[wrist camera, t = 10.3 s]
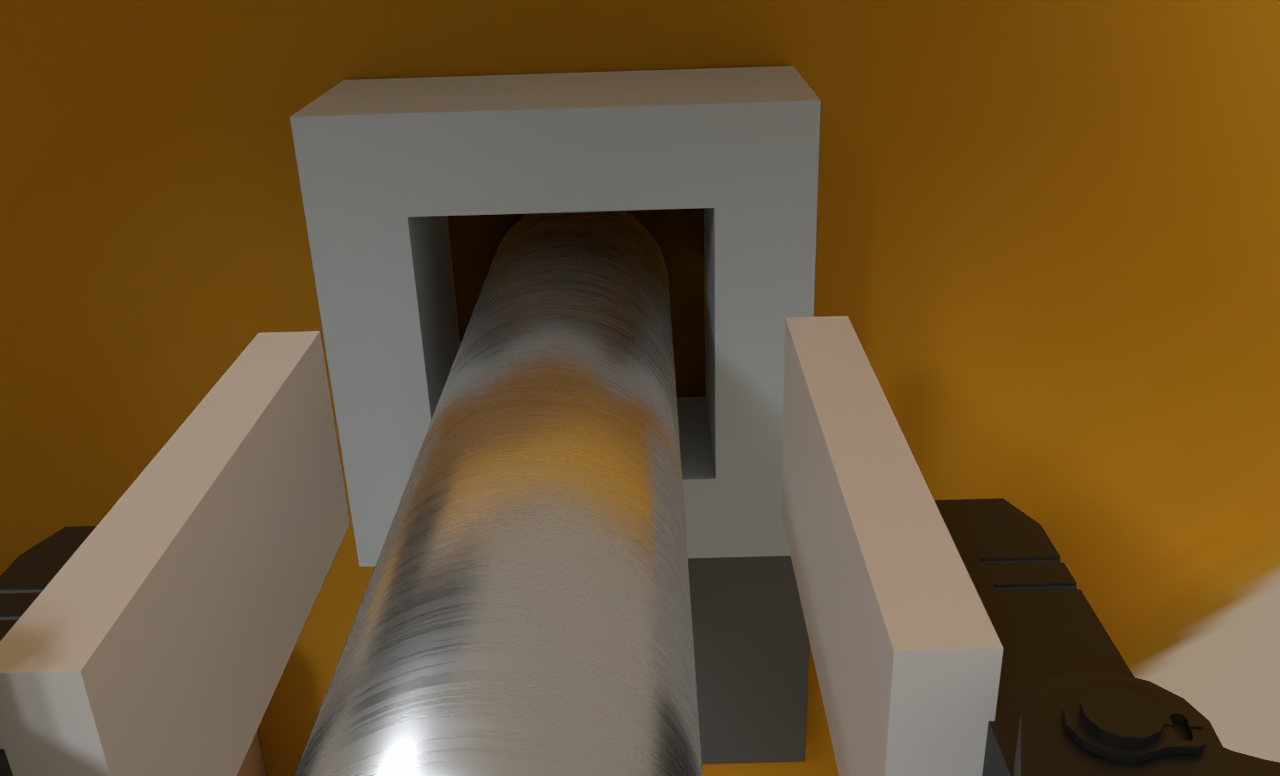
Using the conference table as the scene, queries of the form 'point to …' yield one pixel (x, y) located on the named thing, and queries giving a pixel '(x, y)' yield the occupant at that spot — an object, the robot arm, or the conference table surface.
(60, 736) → the robot arm
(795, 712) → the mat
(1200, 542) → the conference table surface
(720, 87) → the eye block
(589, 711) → the rod
